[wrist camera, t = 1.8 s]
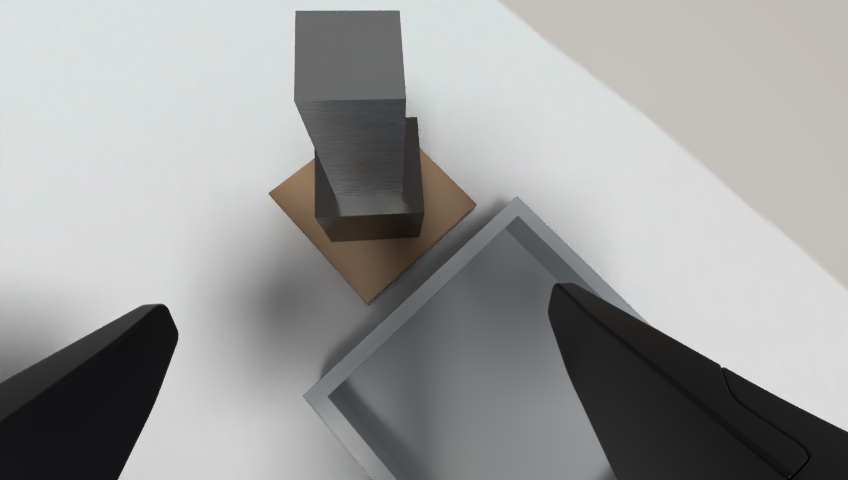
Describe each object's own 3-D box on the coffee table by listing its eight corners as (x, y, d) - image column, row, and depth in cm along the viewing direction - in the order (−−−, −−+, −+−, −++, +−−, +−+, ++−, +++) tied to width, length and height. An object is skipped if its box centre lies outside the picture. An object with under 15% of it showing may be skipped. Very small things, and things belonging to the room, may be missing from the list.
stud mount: (368, 305, 22) (361, 297, 18) (273, 199, 23) (247, 170, 19) (473, 209, 24) (488, 184, 20) (380, 117, 25) (377, 76, 21)
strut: (419, 237, 22) (442, 127, 11) (331, 242, 22) (256, 133, 10) (413, 159, 24) (428, -15, 12) (330, 162, 23) (263, -15, 12)
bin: (510, 617, 19) (535, 679, 15) (318, 386, 21) (302, 396, 17) (680, 394, 22) (732, 404, 19) (500, 216, 24) (516, 196, 21)
